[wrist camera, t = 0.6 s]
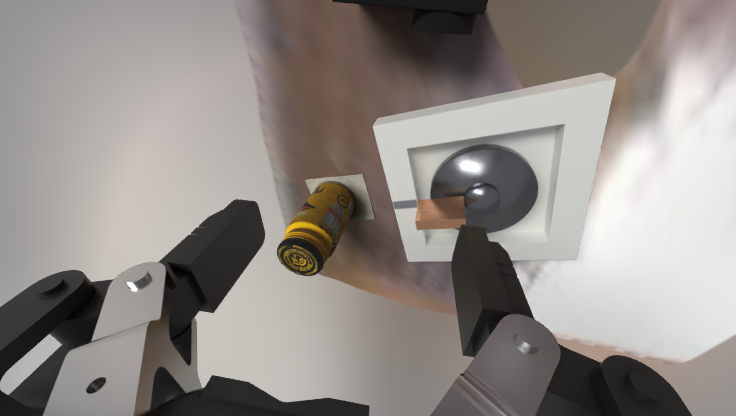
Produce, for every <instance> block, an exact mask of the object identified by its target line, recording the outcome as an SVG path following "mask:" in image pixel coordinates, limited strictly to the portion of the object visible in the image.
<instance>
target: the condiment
mask: <svg viewBox="0 0 736 416" xmlns="http://www.w3.org/2000/svg"><path fill="white" fill-rule="evenodd" d="M305 181H306V184H307V186H308V188H309V191H310V193H311V196H310V197H309V198H308V200H307V201H306V203H305V204H304V205H303V206H302V208H301V210H300V211H299V212H298V214H297V215H296V217H295V218H294V219H293V221H292V222H291V223H290V224H289V226H288V228H287V230H286V233H285V237H284V239H283V241H282V242H281V243H280V245H279V246H278V249H277V255H278V258H279V260H280V262H281V264H283V265H284V266H285V267H286V268H287V269H288V270H290V271H292V272H294V273H296V274H299V275H304V276H312V275H315V274H317V273H318V272H319V271H320V270H322V268H323V264H324V263H325V262H326V260H327V258H329V257H330V256H331V255H332V254H333V252H334V250H335V248H336V246H337V244H338V242H339V240H340V237H341V235H342V233H343V231H344V229H345V227H346V225H347V222H348V220H374V219H375V218H374V213H373V210H372V206H371V202H370V198H369V195H368V191H367V188H366V184H365V181H364V178H363V174H358V175H349V176H339V177H327V178H317V179H309V180H305ZM349 187H351V188H353V189H354V190H352V189H350V188H349ZM353 212H354V213H353Z"/></svg>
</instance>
